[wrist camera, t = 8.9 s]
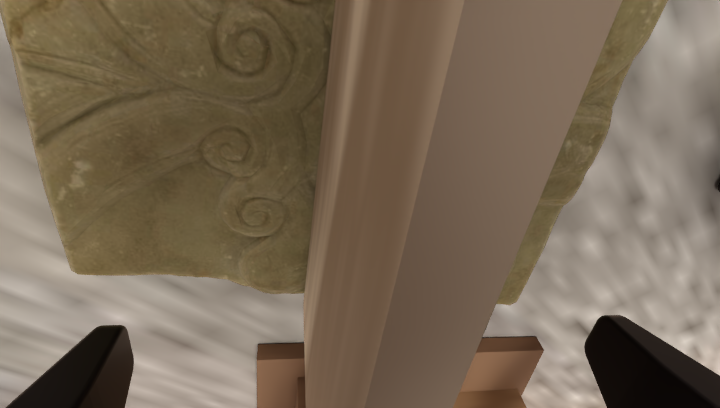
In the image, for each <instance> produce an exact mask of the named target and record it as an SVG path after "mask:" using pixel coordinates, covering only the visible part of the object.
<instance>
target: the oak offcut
mask: <svg viewBox="0 0 720 408" xmlns="http://www.w3.org/2000/svg"><path fill="white" fill-rule="evenodd" d="M453 408H526V406H525V404H524V402H523V400H522V398H521V396H520V394H519V391H518V389H509V390H490V391H470V392H459V394H458V396H457V399H456V401H455V404H454V406H453Z"/></svg>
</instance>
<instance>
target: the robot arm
mask: <svg viewBox="0 0 720 408" xmlns="http://www.w3.org/2000/svg"><path fill="white" fill-rule="evenodd" d="M718 191H719V192H720V183H719V185H718ZM585 354H586V357H587V359H588V361H589V364H590V366H591V369H592V371H593V374H594V376H595V379H596V381H597V384H598V386H599V389H600V391H601V394H602V396H603V399H604V401H605V404H606V406H607V408H720V376H719V375H718V374H716V373H714V372H713V371H711V370H709V369H708V368H706V367H705V366H703V365H701V364H700V363H698V362H697V361H695V360H693V359H692V358H690V357H689V356H687V355H685V354H684V353H682V352H680V351H679V350H677V349H676V348H674V347H672V346H671V345H669V344H668V343H666V342H664V341H663V340H661V339H660V338H658V337H656V336H655V335H653V334H651V333H650V332H648V331H647V330H645V329H643V328H642V327H640V326H639V325H637V324H635V323H634V322H632V321H631V320H629V319H627V318H626V317H623V316H620V315H605V316H602V317H600V318H599V319H598V320H597V322H596V324H595V326H594V327H593V329H592V331H591V333H590V334H589V336H588V338H587V340H586V342H585ZM133 366H134V358H133V353H132V349H131V344H130V340H129V335H128V331H127V329H126V327H124V326H122V325H109V326H99V327H97V328H95V329H94V330H93V331H91V332H90V333H89V334H88V335H87V336H86V337H85V338H84V339H82V340H81V341H80V342H79V343H78V344H77V345H76V346H75V347H73V348H72V349H71V350H70V351H69V352H68V353H67V354H65V355H64V356H63V357H62V358H61V359H60V360H59V361H58V362H56V363H55V364H54V365H53V366H52V367H51V368H50V369H49V370H47V371H46V372H45V373H44V374H43V375H42V376H41V377H40V378H38V379H37V380H36V381H35V382H34V383H33V384H32V385H31V386H29V387H28V388H27V389H26V390H25V391H24V392H23V393H21V394H20V395H19V396H18V397H17V398H16V399H15V400H14V401H12V402H11V403H10V404H9V405H8V406H7V407H6V408H125V404H126V399H127V395H128V390H129V386H130V381H131V377H132V372H133Z"/></svg>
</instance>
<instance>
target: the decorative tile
mask: <svg viewBox="0 0 720 408" xmlns="http://www.w3.org/2000/svg"><path fill="white" fill-rule="evenodd" d="M667 1H668V0H622V3H621V5H620V7H619V10H618V12H617V15H616V17H615V19H614V22H613V24H612V27H611V29H610V31H609V34H608V36H607V39H606V41H605V43H604V46H603V48H602V51H601V53H600V55H599V58H598V60H597V63H596V65H595V67H594V70H593V72H592V75H591V77H590V79H589V82H588V84H587V87H586V89H585V91H584V94H583V96H582V99H581V101H580V103H579V106H578V108H577V111H576V113H575V115H574V118H573V120H572V123H571V125H570V127H569V130H568V132H567V135H566V137H565V139H564V142H563V144H562V147H561V149H560V151H559V154H558V156H557V159H556V161H555V163H554V166H553V168H552V171H551V173H550V175H549V178H548V180H547V183H546V185H545V187H544V190H543V192H542V195H541V197H540V199H539V202H538V204H537V207H536V209H535V211H534V214H533V216H532V219H531V221H530V223H529V226H528V228H527V231H526V233H525V235H524V238H523V240H522V243H521V245H520V248H519V250H518V252H517V255H516V257H515V260H514V262H513V264H512V267H511V269H510V272H509V274H508V276H507V279H506V281H505V284H504V286H503V288H502V291H501V293H500V296H499V298H498V300H497V303H496V304H505V305H511V304H513V303H515V302H517V300H518V298H519V296H520V294H521V292H522V290H523V288H524V286H525V285H526V283H527V281H528V279H529V277H530V275H531V273H532V270H533V268H534V266H535V264H536V262H537V261H538V259H539V257H540V255H541V253H542V251H543V249H544V247H545V245H546V242H547V240H548V237H549V235H550V233H551V230H552V228H553V226H554V223H555V221H556V219H557V217H558V215H559V213H560V211H561V209H562V207H563V205H565V204H567V203H568V202H569V201H570V200H571V199H572V198H573V196H574V195H575V193H576V192H577V190H578V188H579V187H580V185H581V183H582V181H583V178H584V176H585V174H586V172H587V170H588V169H589V168H590V166H591V165H592V163H593V161H594V159H595V157H596V155H597V153H598V152H599V150H600V148H601V146H602V144H603V142H604V140H605V138H606V135H607V132H608V129H609V126H610V121H611V115H612V106H613V104H614V102H615V100H616V98H617V95H618V93H619V90H620V88H621V85H622V82H623V80H624V78H625V76H626V74H627V72H628V69H629V67H630V65H631V63H632V61H633V59H634V58H635V56H636V55H637V54H638V53H639V51H640V50H641V49H642V47H643V46H644V44H645V43H646V42H647V40H648V39H649V37H650V35H651V33H652V31H653V29H654V27H655V25H656V23H657V21H658V19H659V17H660V15H661V13H662V11H663V9H664V7H665V5H666V3H667ZM334 8H335V0H0V13H1V17H2V20H3V24H4V28H5V32H6V36H7V39H8V42H9V44H10V47H11V52H12V56H13V61H14V65H15V69H16V74H17V79H18V83H19V88H20V92H21V96H22V101H23V105H24V109H25V113H26V117H27V121H28V125H29V129H30V133H31V137H32V141H33V145H34V149H35V153H36V157H37V161H38V165H39V169H40V173H41V177H42V181H43V185H44V189H45V192H46V195H47V198H48V201H49V204H50V207H51V210H52V213H53V217H54V220H55V223H56V226H57V229H58V232H59V235H60V238H61V240H62V243H63V246H64V249H65V252H66V256H67V259H68V262H69V265H70V268H71V270H72V271H73V272H75V273H77V274H82V275H149V274H171V275H176V276H194V277H211V278H218V279H228V280H230V281H232V282H235V283H238V284H240V285H243V286H251V287H252V288H255V289H257V290H259V291H262V292H265V293H270V294H281V293H291V294H295V293H305V283H306V274H307V264H308V255H309V245H310V236H311V226H312V217H313V207H314V198H315V188H316V179H317V169H318V160H319V150H320V141H321V131H322V122H323V112H324V103H325V94H326V84H327V75H328V65H329V56H330V46H331V37H332V27H333V18H334Z"/></svg>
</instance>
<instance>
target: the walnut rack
mask: <svg viewBox="0 0 720 408" xmlns="http://www.w3.org/2000/svg"><path fill="white" fill-rule="evenodd" d="M543 351H544V349H543V348H542V346H541V344H540V343H539V341H538V339H537V338H536V337H502V338H482V339H481V341H480V344H479V346H478V348H477V351H476V353H475V356H474V358H473V360H472V363H471V365H470V368H469V370H468V372H467V375H466V377H465V380H464V382H463V384H462V387H461V389H460V392H470V391H490V390H509V389H518V391H519V394H520V396H521V395H522V393H523V391H524V389H525V387H526V385H527V383H528V381H529V379H530V377H531V375H532V373H533V371H534V369H535V367H536V365H537V363H538V361H539V359H540V357H541V355H542V353H543ZM257 408H306V398H305V352H304V343H289V344H258V352H257Z"/></svg>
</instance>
